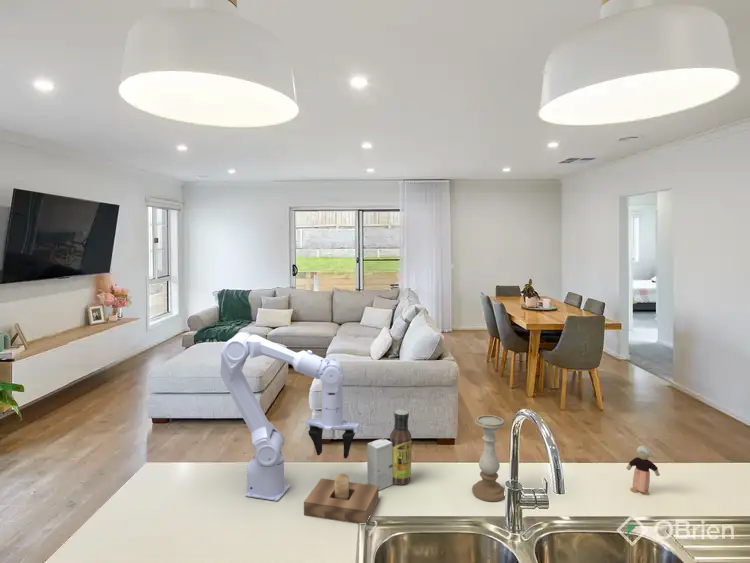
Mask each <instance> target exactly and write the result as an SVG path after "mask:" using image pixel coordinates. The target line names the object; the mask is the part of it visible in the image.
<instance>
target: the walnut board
mask: <svg viewBox="0 0 750 563" xmlns="http://www.w3.org/2000/svg"><path fill="white" fill-rule="evenodd" d="M379 491H380V490H379V486H375V485H368V484H367V483H361V482H359V483H358V482H353V481H352V482H351V481H349V500H343V499H336V498H335V479H328V478H320V479H319V481H318V482H317V484H316V485H314V488H313V489H312V490H311V492H310V493H309V494H308V495H307V497H305V498H306V499H304V500H303V515H304V516H307V517H311V518H312V517H314V518H319V519H325V520H333V521H338V522H339V521H340V522H343V523H344V522H346V523H351V524H358V525H360V524H359V523H367V524H368V522H367V520H368V518H369V516H370V515H372V514H373V511H374V509H375V507H376V505H377V504H378V501H379V496H380V495H379V494H380V493H379ZM370 517H371V516H370ZM369 519H370V518H369ZM368 521H369V520H368Z"/></svg>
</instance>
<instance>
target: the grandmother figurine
mask: <svg viewBox="0 0 750 563" xmlns="http://www.w3.org/2000/svg"><path fill="white" fill-rule="evenodd" d="M636 452H637V457H635V458H633V459H631V461H629V462H628V464H627V466H626V470H628V471H630V470H631V469H632V468H633V467H634V472H633V477H632V486H631V487H630V489H629V491H631V492H633V493H638V492H640V494H642V495H643V496H644V495H645V496H650V492H649V490H650V481H651V473H650V470H652V472H654V474H655V476H657V477H659V476H660V475H661V474H660V472H659V469H658V466H657V465H656V464H654V462H652V461H650V460H649V457H651V455H652V452H651V451H650V449H649V448H648V447H647V446H645V445H640V446H637V449H636Z"/></svg>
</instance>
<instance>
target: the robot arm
mask: <svg viewBox="0 0 750 563" xmlns="http://www.w3.org/2000/svg"><path fill="white" fill-rule="evenodd" d="M219 355H220V358H221V359H220V370H219V371H220V372H219V374H220V376H221V379H222V382H224V384H225V387H226V388H227V390H228V391H229V394H230V396H231V397H232V400H233V401H234V403H235V406H236V407H237V409H238V411H239V413H240V415H241V417H242V418H243V420H244V423H245V425H246V426H247V428H248V430H249V431H250V433H251V444H252V446H253V449H254V457H253V458H251V459H250V461H249V462H248V465H247V468H246V490H247V491H246V494H245V496H246V497H248V498H256V499H262V500H269V501H276V502H277V501H279V500H280V499H282V497H283V495H285V493H286V492H288V490H289V489H290V487H291V484H289V483H285V457H284V454H283V453H282V451H281V450H282V448H283V446H284V444H285V437H284V436H283V434H282V433H281V431H279V430H278V429H277V428H276V427H275V424H273V423H272V422H270V421H269V420H268V418H267V416H266V414H265V412H264V410H263V408H262V407H261V405H260V403H259V401H258V399H257V398H256V395H255V393H254V392H253V389H252V388H251V386H250V384H249V382H248V380H247V378H246V376H245V374H244V372H243V369H244V367H245V363H246V361H247V359H248V357H249V358H250V359H253V358H257V357H260V356H261V357H262V356H265V357H267V358H271V359H273V360H277V361H280V362H284V363H286V364H290V365H291V366H292V367H293V370H294V371H295V372H298V373H299V374H302V375H305V376H308V377H311V378H314V379H316V380H320V382H321V383H322V384H321V386H322V388H321V393H320V395H321V418H308V419H307V420H305V428H306V429H309V430H308V431H307V432H308V433H307V434H308V435H309V437H310V439H311V441H312V442H313V445H314V449H315V452H316V455H317V456H320V455H321V454H322V453H323V431H332V430H333V431H344V432H343V434H341V435H342V436H341V437H342V444H343V459H347V458H348V457H349V455H350V449H351V445H352V442H353V439H354V438H355V435H356V434H358V433H359V431H360V423H357V422H353V421H349V420H345V419H344V396H343V395H344V394H343V393H344V390H343V378H344V376H343V372H344V369H343V365H342V364H341V362H339V361H338V360H336V359H335V358H331V359H330V358H329V357H325V358H324V357H321V356H320V355H317V354H314V353H313V351H312V350H309V349H308V350H307V351H306V350H300V351H299V352H295V351H293V350H291V349H289V348H287V347H285V346H282V345H280V344H278V343H275V342H273V341H271V340H268V339H266V338H264V337H262V336H260V335H258V334H251V333H249V332H247V331H240V332H237V333H236V334H234V336H233V337H231V338H230V339H228V340H227V341H226V342H225V343H224V345H223V347H222V349H221V351H220V354H219Z"/></svg>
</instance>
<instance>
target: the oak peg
mask: <svg viewBox="0 0 750 563" xmlns="http://www.w3.org/2000/svg"><path fill="white" fill-rule="evenodd" d="M349 479H350V478H349V475H348V474H346V473H338V474H336V475H335V476H334V480H335V498H336V499H343V500H349V482H350V480H349Z"/></svg>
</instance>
